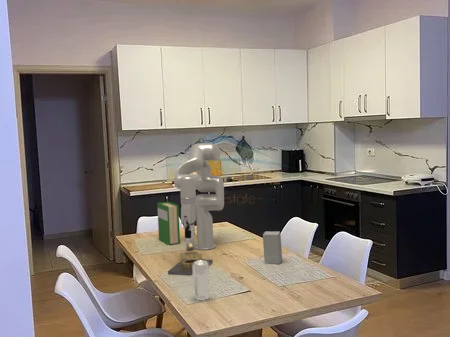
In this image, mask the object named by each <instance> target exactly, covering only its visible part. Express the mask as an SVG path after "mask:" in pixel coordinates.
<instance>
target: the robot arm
mask: <svg viewBox="0 0 450 337" xmlns="http://www.w3.org/2000/svg"><path fill="white" fill-rule="evenodd" d="M220 157H221V150H220V147H219V146H218V145H217V144H215V143H212V142H210V143H209V142H206V143H205V142H204V143H203V142H202V143H201V142H200V143H195V144H193V145H192V146H191V147H190V150H189V155H188V158H187V160H186V161H184V163H182V164H181V165H179V166H178V168H177V169H176V171H175V176H174V180H173V183H174V184H173V185H174V187H175V188H177V189H178V190H180V204H181V206H180V207H181V208H180V224H181V225H183V227H184V238H185V239H186V238H191V230H190V225H191V224H192V223H193V220H194V224H195V222H196V227H195V225H194V236H195V235H196V241H197V242H196V244H195V250H199V251H207V250H214V249H215V248H216V247H217V244H216V243H214V226H213V216H212V214H211V213H210V211H222V210H223V209H224V207H225V186H224V185H225V184H224V179H223V177H222V176H221V175H212V167H211V165H210V164H209V162H208V161H218V160H219V159H220ZM194 172H196V173H194ZM196 190H197V191H198V192H201V194H198V195H197V194H196ZM202 193H203V194H202ZM205 193H206V194H205ZM208 193H209V194H208ZM210 193H211V194H210ZM213 193H215V194H213ZM187 223H188V224H187ZM187 225H189V227H188V226H187ZM195 230H196V232H195Z"/></svg>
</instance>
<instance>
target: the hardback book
mask: <svg viewBox="0 0 450 337" xmlns="http://www.w3.org/2000/svg"><path fill="white" fill-rule="evenodd" d="M156 205H157V224H158V225H157V226H158V229H157V230H158V241H160V242H162V243H163V242H164V244H165V245H167V246H168V245H170V246H171V245H174V244H178V245H180V244H181V236H180V234H181V233H180V231H181V230H180V209H179V205H178V204H176V203H173V202H169V201H164V202H163V201H162V202H157V203H156Z"/></svg>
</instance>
